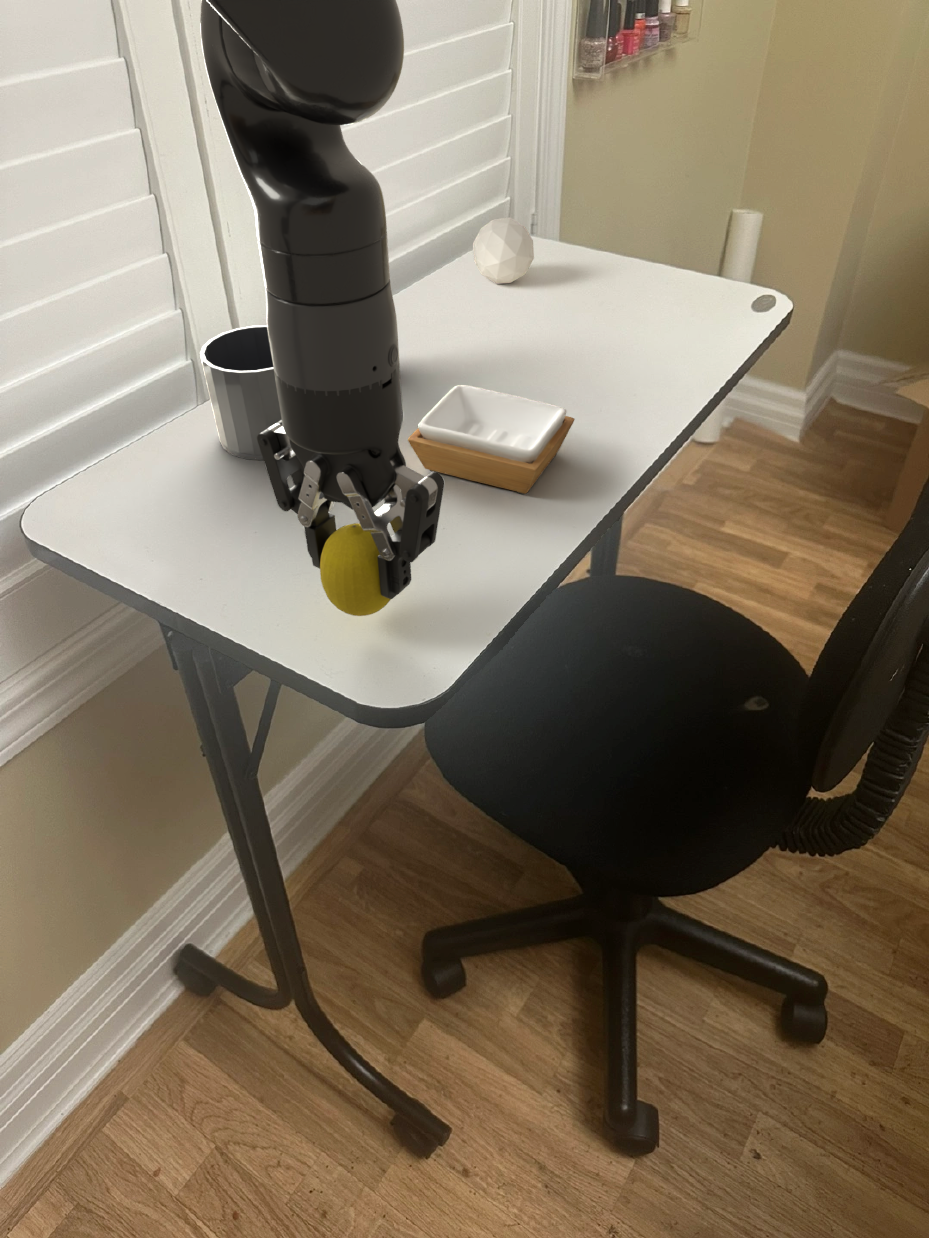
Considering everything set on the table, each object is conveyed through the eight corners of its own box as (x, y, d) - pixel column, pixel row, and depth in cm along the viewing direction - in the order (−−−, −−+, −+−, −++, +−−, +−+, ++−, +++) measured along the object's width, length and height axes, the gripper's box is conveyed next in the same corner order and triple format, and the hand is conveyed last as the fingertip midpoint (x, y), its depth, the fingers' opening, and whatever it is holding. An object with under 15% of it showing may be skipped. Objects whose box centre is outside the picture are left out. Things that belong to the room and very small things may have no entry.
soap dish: (409, 474, 83) (405, 426, 80) (454, 425, 90) (453, 378, 87) (535, 505, 79) (537, 456, 76) (573, 451, 86) (576, 403, 83)
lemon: (313, 628, 66) (299, 540, 61) (346, 583, 70) (335, 496, 65) (382, 645, 65) (374, 557, 59) (412, 598, 69) (407, 511, 63)
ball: (517, 298, 120) (556, 251, 115) (483, 295, 113) (523, 245, 109) (485, 256, 121) (522, 207, 116) (449, 251, 115) (487, 199, 110)
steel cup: (273, 471, 84) (257, 382, 78) (198, 442, 88) (177, 356, 82) (340, 425, 90) (329, 339, 84) (267, 400, 94) (252, 317, 88)
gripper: (203, 352, 55) (250, 571, 66) (395, 414, 49) (411, 643, 60) (286, 309, 59) (317, 520, 70) (471, 361, 53) (472, 583, 65)
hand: (360, 576), depth 65 cm, fingers closed on lemon, 5 cm apart
